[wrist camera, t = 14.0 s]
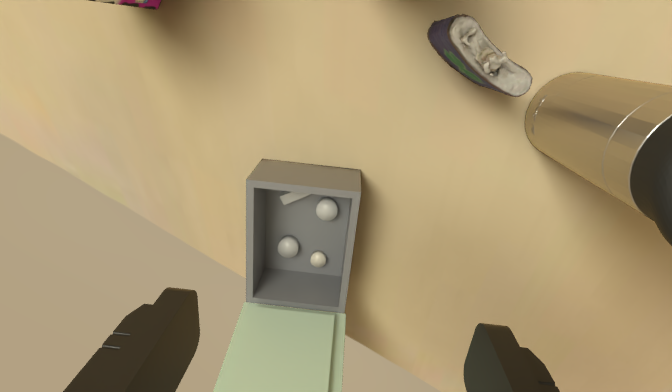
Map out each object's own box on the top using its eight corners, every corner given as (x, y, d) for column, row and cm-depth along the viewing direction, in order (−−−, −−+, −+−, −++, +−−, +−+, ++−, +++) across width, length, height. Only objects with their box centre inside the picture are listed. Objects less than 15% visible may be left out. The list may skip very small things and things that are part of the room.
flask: (501, 72, 39) (550, 83, 29) (481, 94, 40) (521, 112, 30) (439, 13, 37) (468, 4, 28) (419, 38, 38) (440, 38, 29)
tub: (360, 169, 44) (361, 192, 38) (345, 278, 51) (344, 313, 44) (262, 158, 44) (246, 179, 38) (260, 268, 51) (246, 302, 44)
